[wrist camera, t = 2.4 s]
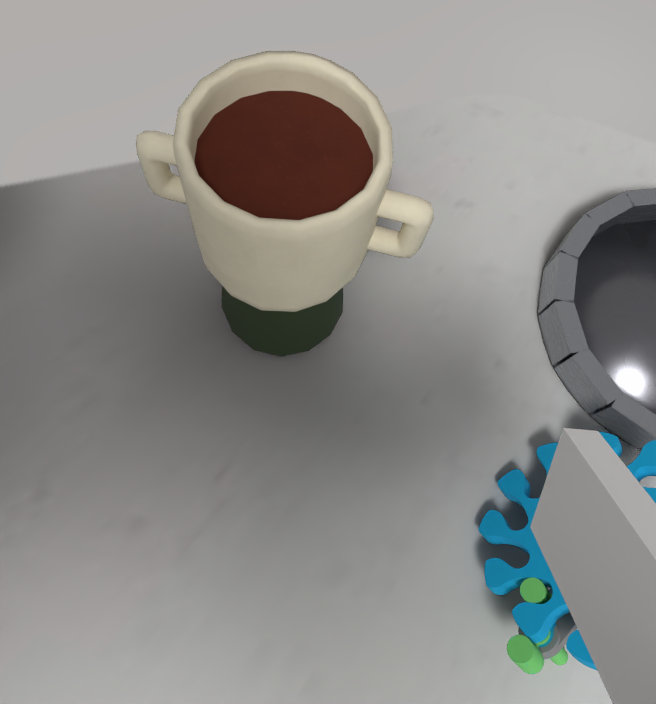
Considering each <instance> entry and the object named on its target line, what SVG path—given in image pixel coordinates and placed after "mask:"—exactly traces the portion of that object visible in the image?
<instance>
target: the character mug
mask: <svg viewBox="0 0 656 704" xmlns="http://www.w3.org/2000/svg"><path fill="white" fill-rule="evenodd" d="M136 147H137V155H138V158H139V160H140V163H141V166H142V169H143V172H144V174H145V177H146V180H147V183H148V186H149V187H150V189H151V190H152V191H153V193H154V194H156V195H158V196H161V197H163V198H165V199H169V200H173V201H177V202H181V203H185V204H187V206H188V210H189V214H190V217H191V221H192V225H193V229H194V232H195V236H196V239H197V242H198V245H199V248H200V251H201V254H202V257H203V260H204V263H205V266H206V267H207V268H208V270H209V271H210V272H211V273H212V274H213V276H214V277H215V278H216V279H217V280H218V281H219V282H220V283H221V285H222V308H223V311H224V313H225V315H226V318H227V320H228V322H229V325H230V327H231V329H232V331H233V332H234V333H235V334H236V335H237V336H238V337H240V338H241V339H242V340H243V341H244V342H245V343H247V344H248V345H249V346H250V347H251V348H252V349H254V350H257V351H261V352H265V353H269V354H273V355H277V356H285V355H290V354H295V353H300V352H305V351H309V350H310V349H311V348H313V347H314V346H315V345H317V344H318V343H319V342H321V341H322V340H324V339H325V338H326V337H328V336H329V335H330V334H331V332H332V330H333V329H334V327H335V325H336V323H337V321H338V319H339V317H340V316H341V314H342V306H343V286H345V285H346V284H347V283H348V282H349V281H350V280H351V279H353V278H354V277H355V276H356V274H357V272H358V270H359V268H360V266H361V264H362V262H363V260H364V258H365V256H366V253H367V251H368V250H372V251H376V252H380V253H384V254H388V255H392V256H396V257H401V258H410V257H412V256H413V255H414V254H415V253H416V252H417V251H418V250H419V249H420V247H421V245H422V243H423V241H424V238H425V236H426V234H427V232H428V230H429V228H430V225H431V223H432V221H433V219H434V215H433V209H432V206H431V203H430V202H428V201H426V200H424V199H422V198H420V197H416V196H412V195H408V194H404V193H400V192H396V191H392V190H388V189H387V186H388V183H389V179H390V176H391V171H392V165H393V152H392V127H391V125H390V123H389V121H388V119H387V117H386V114H385V112H384V110H383V108H382V106H381V104H380V102H379V100H378V97H377V96H376V95H375V94H374V93H373V92H372V91H371V90H370V89H369V88H368V87H367V86H366V85H365V84H364V83H363V82H362V81H361V80H360V79H359V78H358V77H357V76H356V75H355V74H353V72H350V71H349V70H347V69H345V68H343V67H342V66H340V65H338V64H336V63H334V62H332V61H331V60H328V59H325V58H322V57H319V56H316V55H314V54H308V53H302V52H296V51H266V52H261V53H257V54H254V55H250V56H246V57H242V58H238V59H234V60H231V61H230V62H228V63H226V64H225V65H223V66H222V67H220V68H219V69H217V70H215V71H214V72H212V73H211V74H209V75H207V76H206V77H204V78H202V79H201V80H200V81H199V82H198V83H197V85H196V86H195V87H194V89H193V90H192V91H191V93H190V94H189V95H188V97H187V98H186V99H185V101H184V102H183V103H182V105H181V106H180V107H179V109H178V114H177V120H176V127H175V133H174V135H169V134H166V133H162V132H157V131H144V132H142V133H141V134H139V135H137V141H136ZM169 164H172V165H175V166H177V168H178V172H179V176H177V175H174V174H172V173H171V171H170V168H169ZM378 217H382V218H386V219H390V220H394V221H398V222H402V223H403V225H402V227H401V230H400V231H395V230H391V229H387V228H383V227H380V226H376V223H377V220H378Z"/></svg>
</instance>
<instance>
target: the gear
mask: <svg viewBox="0 0 656 704" xmlns="http://www.w3.org/2000/svg"><path fill="white" fill-rule="evenodd" d="M599 433H600V434H601V435H602V437H603V438H604V439H605V440H606V442H607V443H608V444H609V445H610V447H611V448H612V449H613V450H614V452H615V453H616V454H617V455H618V457H620V456H621V454H622V446H621V443H620V441H619V439H618V437H616V436H615V435H612V434H609V433H604V432H599ZM557 445H558V443H550V444H545V445H542V446H539V447H538V449H537V456H538V458H539V460H540V462H541V463H542V465H543V467H544V468H545V469H546V472H547V475H548V472H549V469H550V466H551V463H552V460H553V457H554V454H555V451H556V448H557ZM627 468H628V469H629V471H630V472H631V473H632V474H633V476H634V477H635V478H636V479H637V481H638V482H640V480H641V479H643V478H644V477H647V476H656V440H653V441H650V442H648V443H647V444H645V445H644V447H643V448H642V451H641V453H640V454H639V456H638V457H637V458H636V459H635V460H634V461H633V462H632V463H631V464H629V465H628V466H627ZM498 486H499V488H500V489H501V491H502V492H503V494H504V495H505V496H506V497H507V498H508V499H509V500H512V501H514V502H516V503H518V504H520V505H521V506H522V507H523V508H524V509H525V511H526V513H527V516H528V523H527V525H526V526H525V528H523V529H521V530H518V531H514V530H511V528H510V526H509V524H508V522H507V521H506V520H505V518H504V517H503V515H502V514H501V513H500V512H498V511H496V510H489V511H488V512H487V513H486V514H485V516H484V517H483V519H482V522H481V524H480V527H479V529H478V530H479V532H480V533H481V534H482V536H483V537H484V538H485V539H486V540H487V541H488V542H489V543H491V544H510V545H514V546H517V547H519V548H521V549H522V550H524V551H525V552H527V553H528V554H529V555H530V559H529V562H528V564H527V565H526V566H524V567H522V568H513V567H511V566H510V565H508V564H507V563H506V562H505V561H503V560H502V559H499V558H491V559H488V560H487V561H486V563H485V570H484V572H485V580H486V585H487V587H488V588H489V589H490V590H491V591H492V592H493V593H495V594H497V595H505V594H507V593H509V592H510V591H512V590H514V589H516V588H518V587H520V594H521V596H522V597H523V599H524V600H525V601H526V602H523V603H520V604H518V605H516V606H515V607H514V609H513V610H512V614H513V617H514V619H515V621H516V623H517V625H518V626H519V631H518V632H519V635H516V636H513V637H512V638H511V639H510V640H509V642H508V644H507V652H508V655H509V657H510V658H511V659H512V660H513V661H514V662H515V663H516V664H517V665H518V666H519V667H520V668H521V669H522V670H523V671H524V672H526V673H528V674H535V673H538V672H539V671H540V670H541V669H542V667H543V664H544V659H548V658H550V659H551V660H552V661H553V662H554V663H555V664H557V665H563V664H565V663H566V662H567V660H568V654H567V652H566V651H565V650H564V648H563V646H564V645H565V644H566V643H567V644H566V646H567V650H568V651H569V652H570V653H571V654H572V656H573V657H575V658H576V659H577V660H578V661H579V662H581V663H582V664H584V665H586V666H588V667H590V668H592V669H595V670H597V668H596V666H595V664H594V662H593V660H592V658H591V656H590V654H589V651H588V649H587V647H586V645H585V643H584V641H583V639H582V636H581V634H580V632H579V630H577V626H576V624H575V622H574V619H573V617H572V615H571V613H570V611H569V609H568V607H567V605H566V602H565V600H564V598H563V596H562V594H561V592H560V590H559V587H558V585H557V583H556V581H555V579H554V577H553V575H552V573H551V570H550V568H549V566H548V564H547V562H546V560H545V558H544V556H543V553H542V551H541V549H540V547H539V545H538V543H537V541H536V538H535V536H534V534H533V532H532V530H531V528H530V526H531V523H532V520H533V517H534V514H535V511H536V508H537V505H538V502H539V499H540V497H539V498H536V499H532V498H529V494H530V484H529V482H528V480H527V479H526V477H525V476H524V474H523V473H522V472H521V471H520V470H518V469H514V470H512V471H510V472H508V473H507V474H506V475H504V476H503V477H502V478H501V479H500V480H499V481H498ZM643 488H644V489H645V491H646V492H647V493H648V494H649V496H650V497H651V498H652V499H653V501H654V502H655V503H656V488H646V487H643ZM545 586H546V587H550V588H551V589H550V590H549V591H548V589H547V588H546V587H545Z"/></svg>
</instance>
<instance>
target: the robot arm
mask: <svg viewBox="0 0 656 704" xmlns="http://www.w3.org/2000/svg"><path fill="white" fill-rule="evenodd" d="M530 528H531V530H532V532H533V534H534V536H535V538H536V541H537V543H538V545H539V547H540V549H541V551H542V553H543V556H544V558H545V560H546V562H547V564H548V566H549V568H550V570H551V573H552V575H553V577H554V579H555V581H556V583H557V585H558V587H559V590H560V592H561V594H562V596H563V598H564V600H565V602H566V605H567V607H568V609H569V611H570V613H571V615H572V617H573V619H574V622H575V624H576V626H577V628H578V630H579V632H580V634H581V636H582V639H583V641H584V643H585V645H586V647H587V649H588V651H589V654H590V656H591V658H592V660H593V662H594V664H595V666H596V668H597V671H598V673H599V675H600V677H601V679H602V681H603V683H604V686H605V688H606V690H607V692H608V694H609V696H610V698H611V700H612V703H613V704H656V503H655V502H654V501H653V499H652V498H651V497H650V496H649V494H648V493H647V492H646V491H645V489H644V488H643V487H642V486H641V484H640V483H639V482H638V481H637V479H636V478H635V477H634V476H633V474H632V473H631V472H630V471H629V469H628V468H627V467H626V465H625V464H624V463H623V462H622V460H621V459H620V458H619V457H618V455H617V454H616V453H615V452H614V450H613V449H612V448H611V447H610V445H609V444H608V443H607V442H606V440H605V439H604V438H603V437H602V435H601V434H600V433H599V432H598V431H594V430H582V429H571V428H563V430H562V433H561V436H560V439H559V442H558V445H557V448H556V451H555V454H554V457H553V460H552V463H551V466H550V469H549V472H548V475H547V478H546V481H545V484H544V487H543V490H542V493H541V496H540V499H539V502H538V505H537V508H536V511H535V514H534V517H533V520H532V523H531V526H530Z"/></svg>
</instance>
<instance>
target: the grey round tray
mask: <svg viewBox="0 0 656 704" xmlns="http://www.w3.org/2000/svg"><path fill="white" fill-rule="evenodd" d="M538 314H539V317H538V318H539V323H540V329H541V333H542V338H543V342H544V345H545V348H546V350H547V353H548V356H549V359H550V361H551V363H552V366H553V367H554V369H555V371H556V373H557V375H558V376H559V378H560V380H561V381H562V383H563V384H564V386H565V387H566V389H567V390H568V392H569V393H570V394H571V395H572V396H573V398H574V399H575V400H576V401H577V402H578V404H579V405H580V406H581V407H582V408H583V409H584V410H585V411H586V412H587V414H589V415H590V416H591V417H592V418H593V419H594V420H595V421H596V422H598V423H599V424H600V425H602V426H603V427H604V428H606V429H607V430H608V431H609V432H611V433H612V434H614V435H615V436H617V437H619V438H620V439H622V440H624V441H625V442H627V443H629V444H631V445H633V446H634V447H636V448H637V449H641V451H642V448H643V447H644V445H645V444H647V443H648V442H650V441H653V440H656V188H655V189H643V190H632V191H626V192H625V193H624V192H622V193H621V194H619V195H617V196H615V197H613V198H611V199H610V200H608V201H606V202H604V203H602V204H601V205H599V206H597V207H595V208H593V209H591V210H590V211H588V212H586V213H585V214H584V215H583V216H582V217H581V218H580V220H579V221H578V222H577V223H576V224H575V225H574V226H573V227H572V228H571V230H570V231H569V232H568V233H567V234H566V236H565V237H564V239H563V240H562V242H561V243H560V245H559V246H558V247H557V249H556V250H555V251H554V253H553V255H552V256H551V258H550V259H549V261H548V262H547V264H546V265H545V268H544V270H543V276H542V281H541V286H540V291H539V304H538Z"/></svg>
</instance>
